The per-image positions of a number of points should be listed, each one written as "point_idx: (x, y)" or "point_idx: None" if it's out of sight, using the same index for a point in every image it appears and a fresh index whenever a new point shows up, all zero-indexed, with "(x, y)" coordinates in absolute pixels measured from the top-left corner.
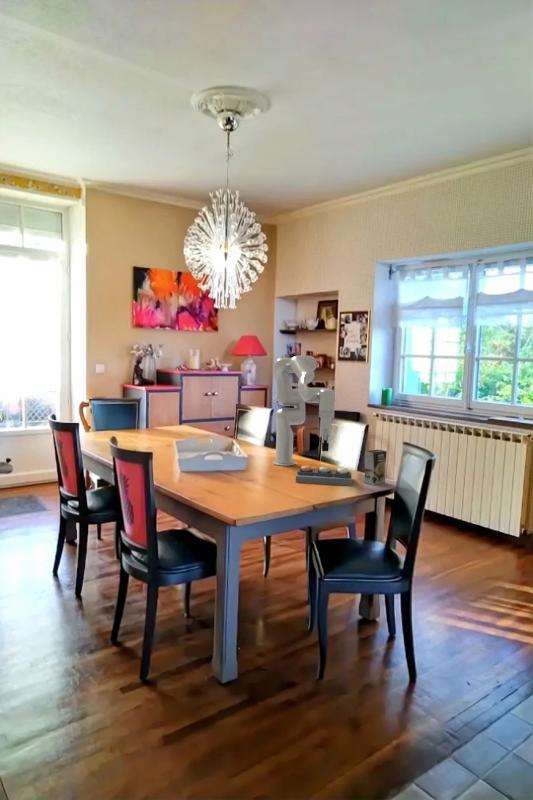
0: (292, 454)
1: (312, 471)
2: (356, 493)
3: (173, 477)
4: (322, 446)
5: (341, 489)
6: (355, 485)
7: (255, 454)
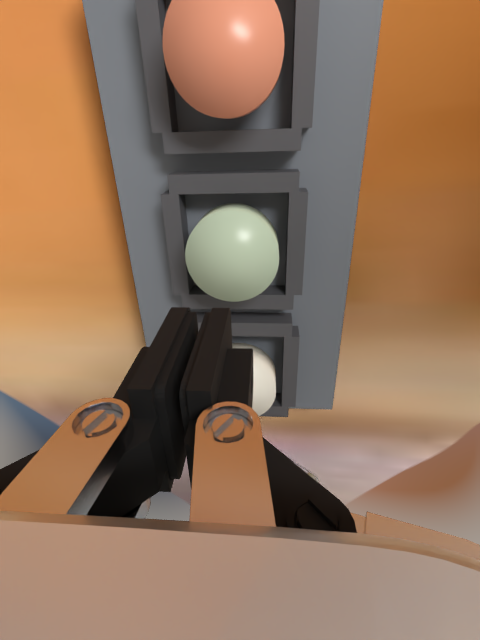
0: None
1: (207, 135)
2: (32, 395)
3: None
4: (152, 352)
5: (67, 334)
6: None
7: None
